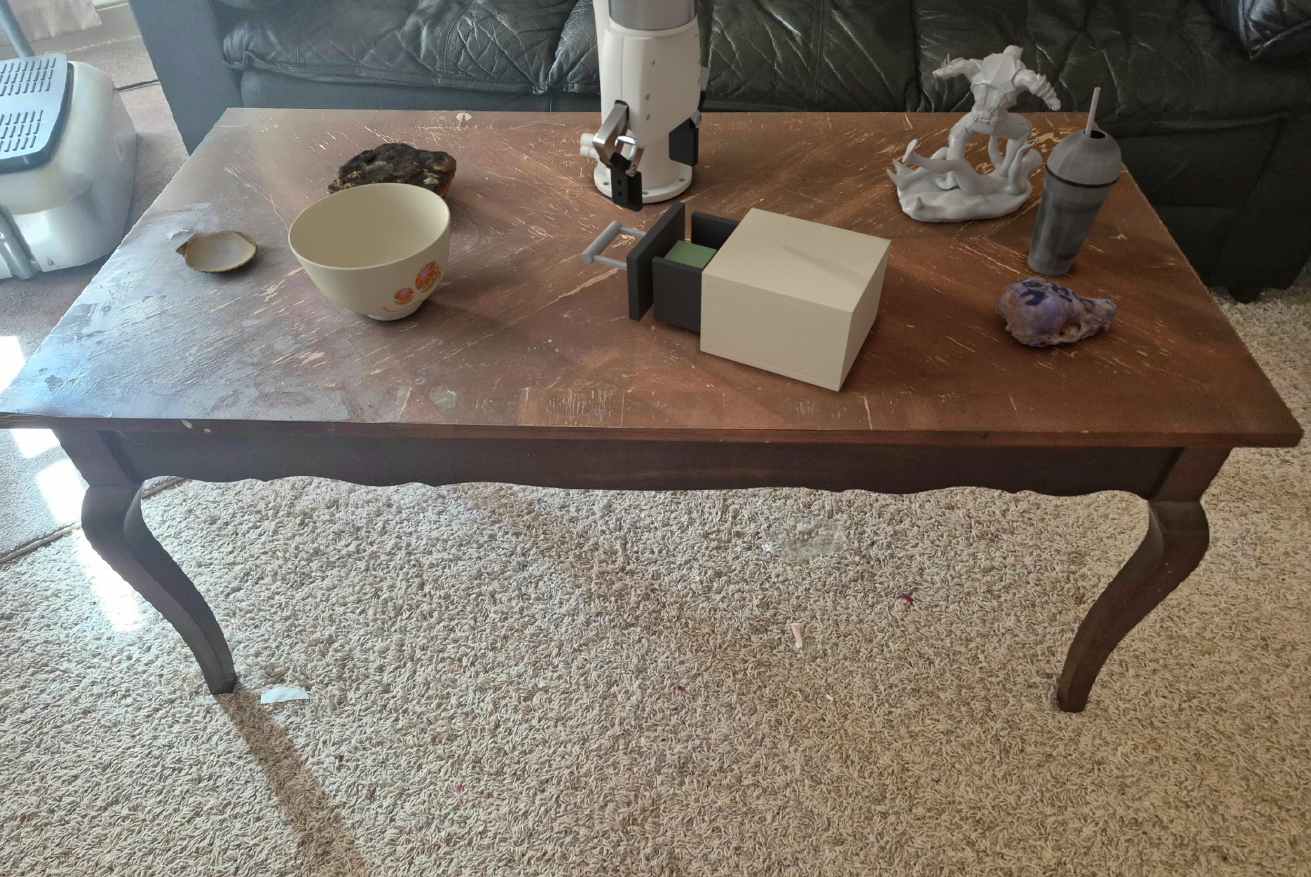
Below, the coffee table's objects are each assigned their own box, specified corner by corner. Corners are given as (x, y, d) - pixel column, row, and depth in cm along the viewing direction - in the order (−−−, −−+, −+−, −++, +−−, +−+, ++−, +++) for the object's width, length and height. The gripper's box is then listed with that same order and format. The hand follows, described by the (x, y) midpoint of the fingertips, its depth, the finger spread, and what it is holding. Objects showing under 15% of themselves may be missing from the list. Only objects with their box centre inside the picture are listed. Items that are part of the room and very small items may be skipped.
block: (660, 296, 92) (660, 261, 89) (678, 274, 95) (678, 239, 92) (699, 307, 91) (699, 272, 88) (715, 284, 94) (717, 249, 91)
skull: (1102, 303, 92) (1122, 259, 88) (1119, 358, 88) (1142, 315, 83) (984, 304, 94) (997, 260, 89) (995, 358, 89) (1010, 315, 84)
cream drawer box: (700, 351, 89) (701, 272, 82) (746, 284, 97) (751, 207, 90) (838, 392, 84) (852, 312, 78) (875, 318, 92) (891, 240, 85)
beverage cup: (1087, 286, 96) (1158, 108, 81) (1017, 279, 97) (1075, 102, 82) (1078, 248, 101) (1144, 75, 86) (1012, 242, 102) (1066, 70, 87)
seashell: (232, 298, 100) (274, 248, 103) (222, 281, 97) (265, 230, 101) (172, 273, 101) (216, 224, 105) (160, 255, 98) (205, 207, 102)
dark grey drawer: (573, 303, 94) (566, 240, 88) (622, 248, 101) (619, 186, 95) (749, 354, 87) (754, 290, 82) (789, 292, 94) (796, 229, 89)
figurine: (1014, 169, 113) (1058, 25, 100) (1050, 223, 104) (1103, 72, 91) (877, 175, 113) (903, 31, 100) (901, 229, 104) (933, 79, 91)
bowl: (336, 368, 88) (306, 287, 81) (303, 286, 98) (274, 206, 91) (487, 321, 93) (471, 240, 86) (440, 247, 103) (423, 169, 96)
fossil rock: (375, 172, 116) (363, 130, 111) (472, 183, 113) (464, 141, 109) (323, 229, 106) (309, 186, 102) (428, 243, 104) (418, 199, 100)
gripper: (672, -39, 80) (672, 137, 93) (553, 27, 70) (572, 213, 83) (743, -23, 77) (734, 156, 90) (629, 48, 67) (637, 238, 80)
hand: (656, 183), depth 86 cm, fingers open, 9 cm apart
